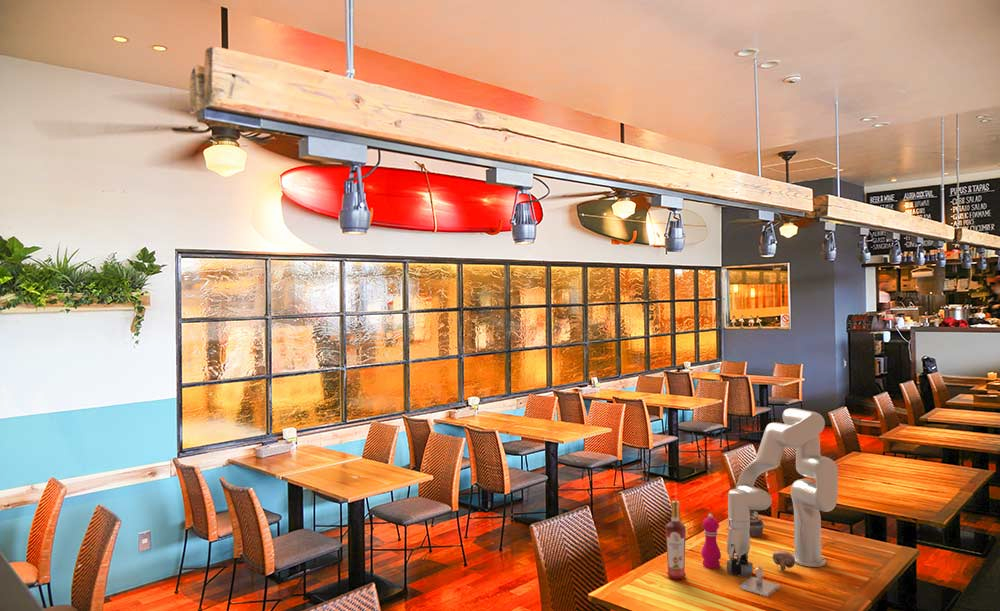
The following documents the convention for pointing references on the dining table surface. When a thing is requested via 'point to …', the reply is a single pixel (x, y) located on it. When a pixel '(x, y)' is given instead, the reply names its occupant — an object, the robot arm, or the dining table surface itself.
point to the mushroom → (784, 559)
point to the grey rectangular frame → (742, 568)
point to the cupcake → (755, 524)
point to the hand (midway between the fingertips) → (739, 570)
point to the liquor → (675, 545)
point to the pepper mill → (711, 543)
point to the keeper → (759, 584)
